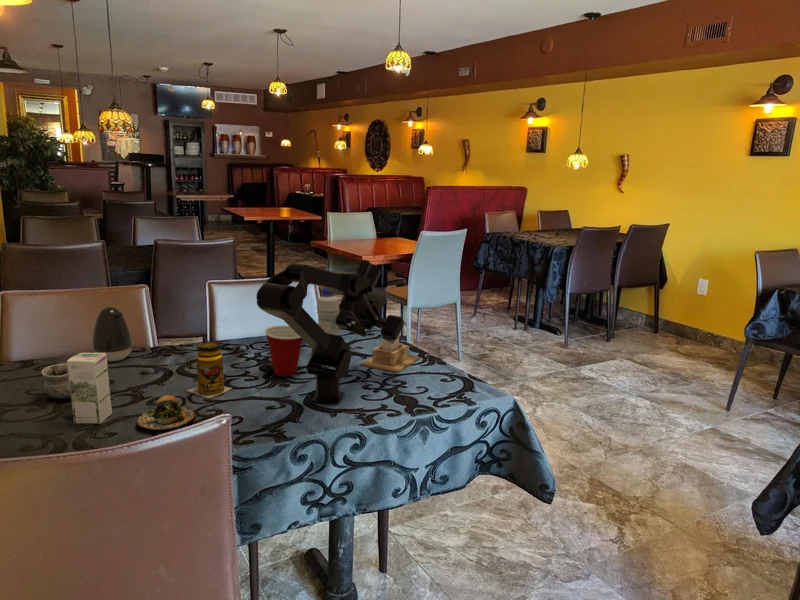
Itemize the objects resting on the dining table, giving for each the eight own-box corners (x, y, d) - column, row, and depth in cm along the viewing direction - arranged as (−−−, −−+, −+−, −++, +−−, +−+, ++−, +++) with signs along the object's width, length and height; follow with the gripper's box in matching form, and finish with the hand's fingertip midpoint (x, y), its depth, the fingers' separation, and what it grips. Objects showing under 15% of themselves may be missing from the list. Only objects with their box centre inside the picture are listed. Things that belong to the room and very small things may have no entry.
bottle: (312, 353, 172) (311, 288, 167) (325, 347, 178) (325, 284, 173) (331, 356, 169) (330, 290, 164) (343, 351, 175) (343, 286, 170)
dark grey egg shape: (107, 367, 155) (102, 313, 152) (85, 360, 161) (80, 307, 157) (141, 357, 164) (137, 306, 161) (119, 351, 169) (115, 301, 166)
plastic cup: (293, 382, 148) (293, 337, 145) (257, 376, 151) (256, 332, 149) (313, 369, 158) (313, 327, 155) (279, 364, 161) (278, 323, 159)
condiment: (210, 398, 136) (207, 350, 134) (185, 391, 140) (182, 344, 138) (232, 389, 142) (230, 343, 140) (208, 382, 147) (206, 337, 144)
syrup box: (113, 414, 126) (107, 351, 123) (100, 425, 121) (93, 360, 118) (86, 413, 126) (80, 351, 123) (72, 425, 121) (65, 360, 117)
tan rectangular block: (391, 363, 163) (392, 322, 160) (382, 361, 164) (382, 321, 161) (398, 359, 167) (399, 319, 164) (389, 357, 168) (390, 318, 165)
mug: (53, 389, 139) (48, 350, 137) (109, 386, 142) (105, 348, 140) (37, 405, 130) (32, 363, 128) (97, 402, 133) (93, 361, 131)
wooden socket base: (397, 373, 157) (397, 357, 156) (359, 365, 162) (360, 350, 161) (419, 359, 169) (419, 344, 168) (383, 352, 174) (384, 338, 173)
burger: (124, 433, 118) (121, 399, 117) (156, 410, 130) (154, 379, 128) (178, 438, 117) (176, 404, 115) (206, 415, 128) (204, 383, 126)
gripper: (403, 287, 145) (420, 321, 157) (343, 276, 154) (363, 309, 166) (385, 323, 140) (404, 355, 152) (324, 309, 149) (346, 341, 161)
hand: (379, 338), depth 158 cm, fingers open, 9 cm apart
